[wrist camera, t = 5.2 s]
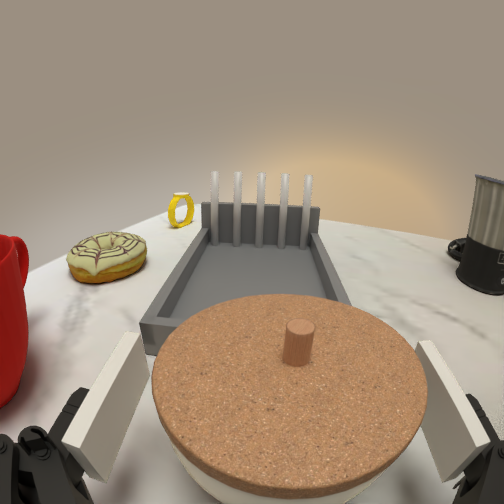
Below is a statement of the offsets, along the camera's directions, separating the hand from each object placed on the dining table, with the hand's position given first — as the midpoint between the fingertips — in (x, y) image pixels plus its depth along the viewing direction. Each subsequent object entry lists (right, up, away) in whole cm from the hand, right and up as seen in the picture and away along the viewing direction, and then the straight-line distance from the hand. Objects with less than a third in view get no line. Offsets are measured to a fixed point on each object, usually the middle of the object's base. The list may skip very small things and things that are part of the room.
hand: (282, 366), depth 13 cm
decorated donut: (-20, +3, +23) cm, 30 cm away
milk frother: (+33, +2, +25) cm, 42 cm away
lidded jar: (0, -6, +1) cm, 6 cm away
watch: (-14, +10, +40) cm, 44 cm away
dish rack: (-1, +1, +19) cm, 19 cm away
